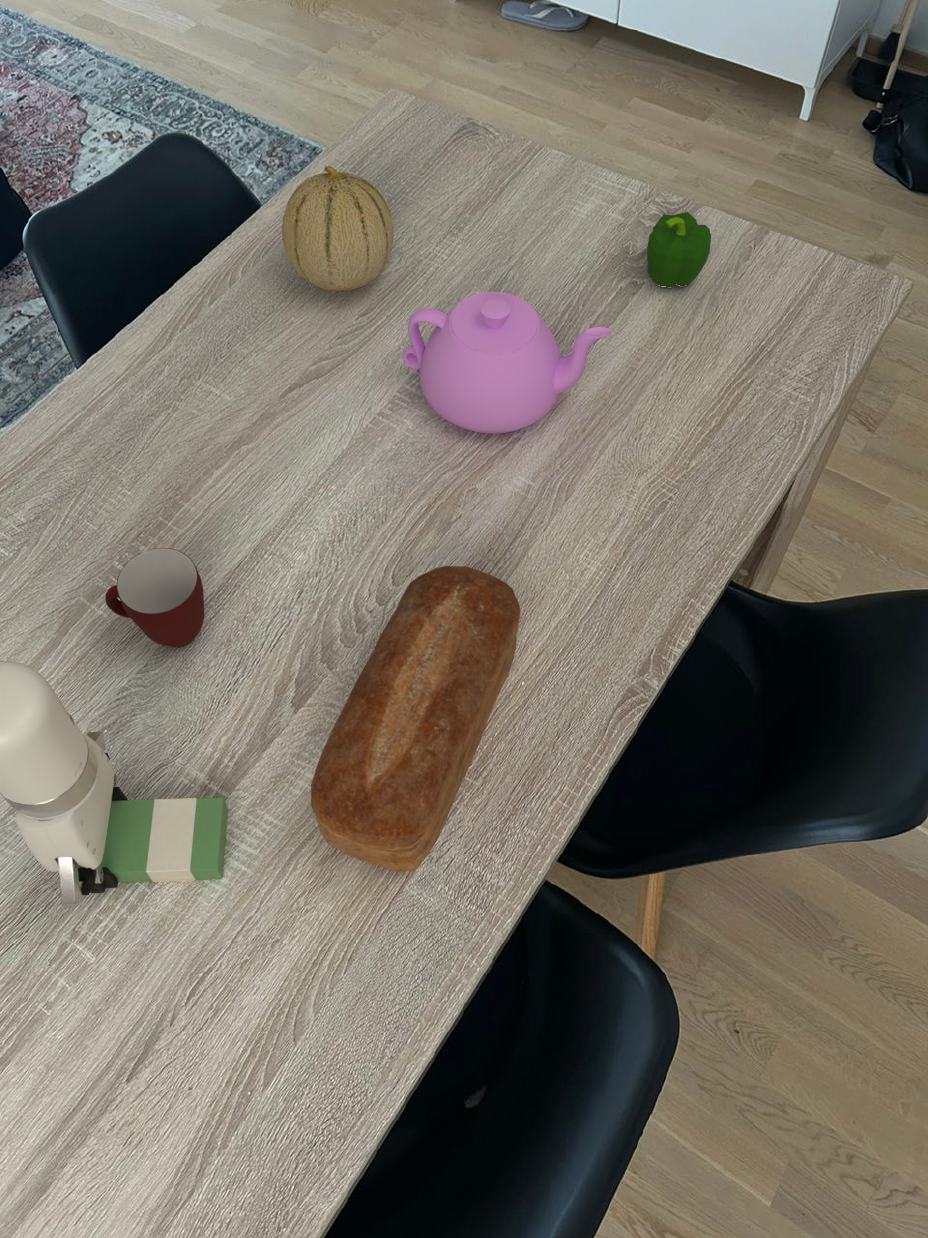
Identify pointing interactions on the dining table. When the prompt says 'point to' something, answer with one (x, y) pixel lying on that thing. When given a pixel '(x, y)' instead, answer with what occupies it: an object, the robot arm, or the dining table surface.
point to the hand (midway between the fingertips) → (106, 844)
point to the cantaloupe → (337, 231)
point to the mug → (160, 596)
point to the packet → (166, 839)
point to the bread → (416, 718)
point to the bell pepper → (677, 250)
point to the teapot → (493, 362)
